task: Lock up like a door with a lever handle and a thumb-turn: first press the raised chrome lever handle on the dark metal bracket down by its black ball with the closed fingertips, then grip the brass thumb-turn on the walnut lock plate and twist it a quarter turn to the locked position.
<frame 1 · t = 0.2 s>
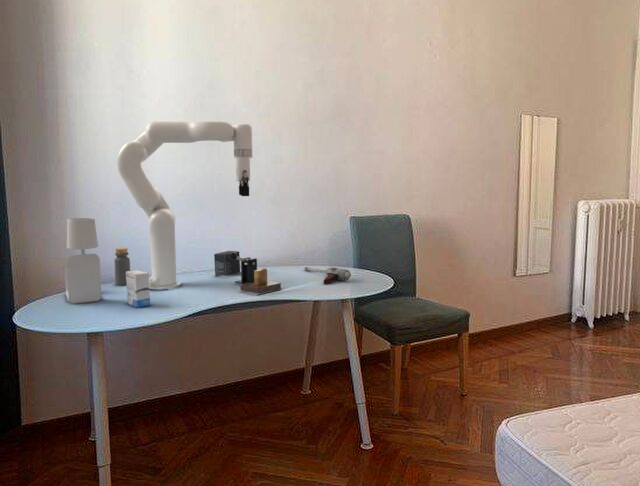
hand: (244, 195, 220), 37 cm above the table, tool pointing down, fingers open, 9 cm apart
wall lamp: (84, 298, 195), on the table
door lever: (241, 259, 217), point 11 cm above the table, hinge at 25.0°
ink box: (138, 305, 186), on the table
lock plate: (260, 291, 208), on the table
handle bracket: (249, 283, 221), on the table
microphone: (318, 277, 236), on the table
bottle: (123, 284, 220), on the table
thumbturn: (260, 276, 207), point 6 cm above the table, hinge at 0.0°
box: (227, 275, 240), on the table
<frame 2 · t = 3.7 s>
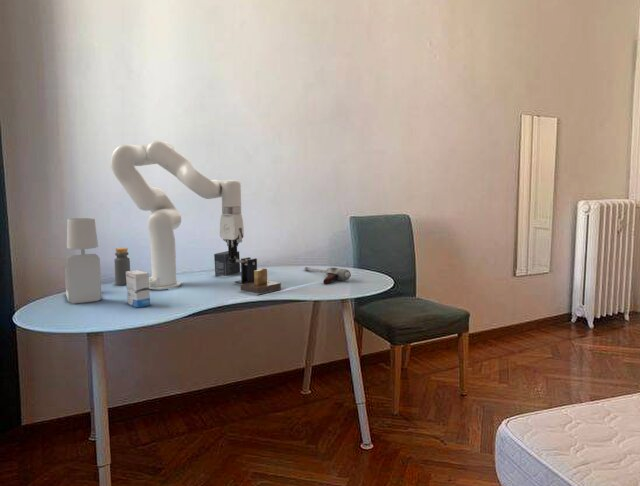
hand: (232, 256, 213), 13 cm above the table, tool pointing down, fingers closed
door lever: (240, 261, 217), point 10 cm above the table, hinge at 14.4°
everything else where it was.
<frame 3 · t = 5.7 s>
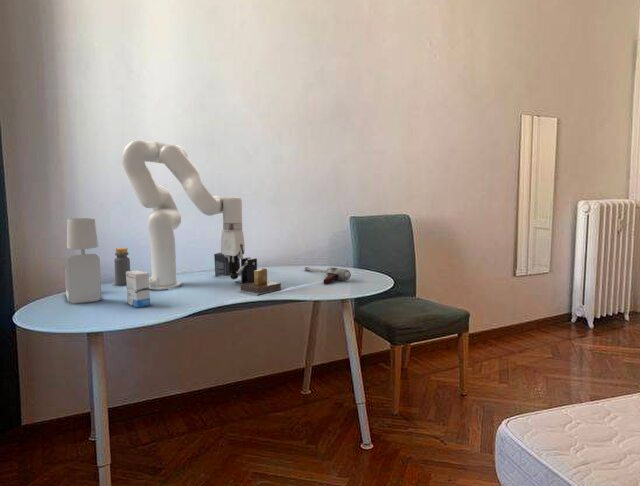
hand: (233, 271, 214), 6 cm above the table, tool pointing down, fingers closed
door lever: (241, 269, 218), point 7 cm above the table, hinge at -28.2°, touching gripper
everything else where it was.
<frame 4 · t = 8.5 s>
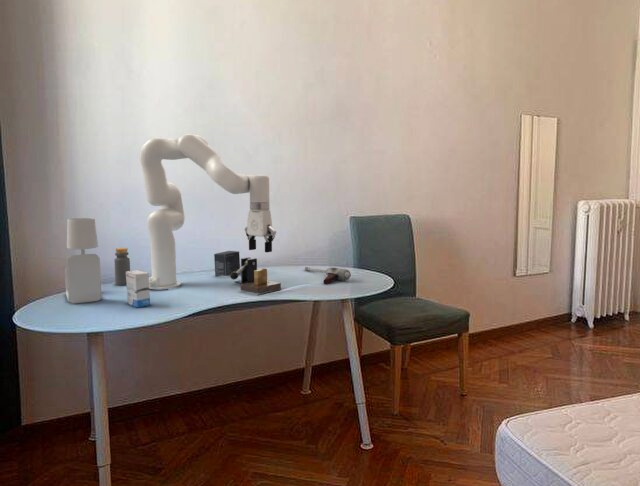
hand: (260, 250, 206), 16 cm above the table, tool pointing down, fingers open, 8 cm apart
door lever: (241, 269, 218), point 7 cm above the table, hinge at -28.2°
everything else where it was.
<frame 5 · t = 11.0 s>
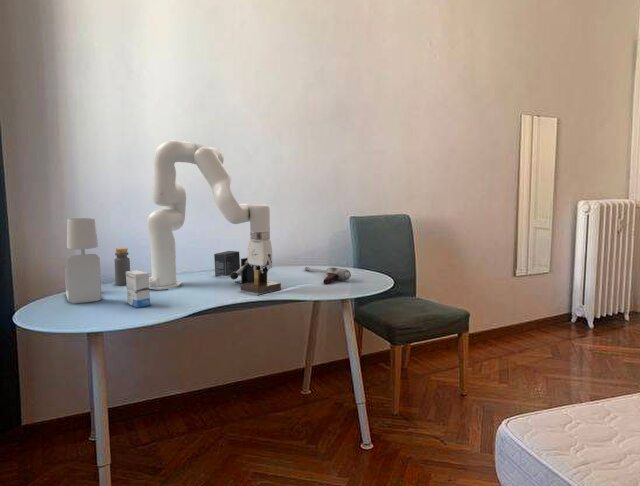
hand: (260, 282, 208), 4 cm above the table, tool pointing down, fingers closed on thumbturn, 2 cm apart
thumbturn: (260, 276, 207), point 6 cm above the table, hinge at 0.0°, touching gripper
everything else where it was.
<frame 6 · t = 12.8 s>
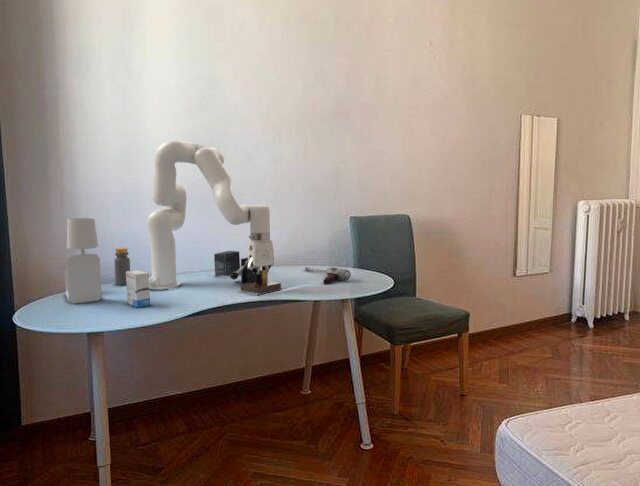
hand: (261, 282, 208), 3 cm above the table, tool pointing down, fingers closed
thumbturn: (260, 276, 207), point 6 cm above the table, hinge at 89.8°
everything else where it was.
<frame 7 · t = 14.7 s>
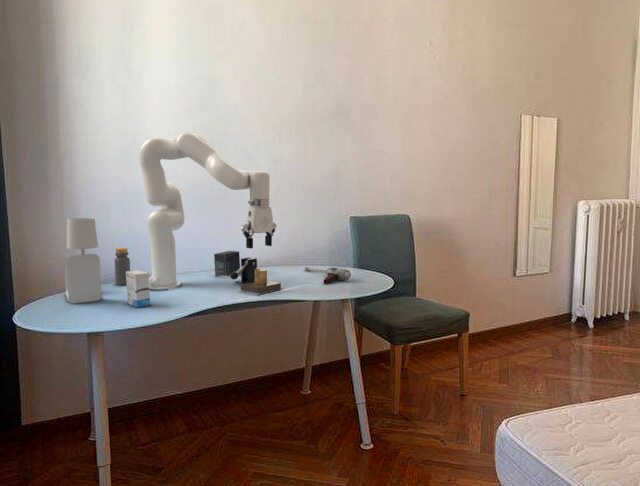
hand: (259, 246, 206), 18 cm above the table, tool pointing down, fingers open, 9 cm apart
nothing on the table moved.
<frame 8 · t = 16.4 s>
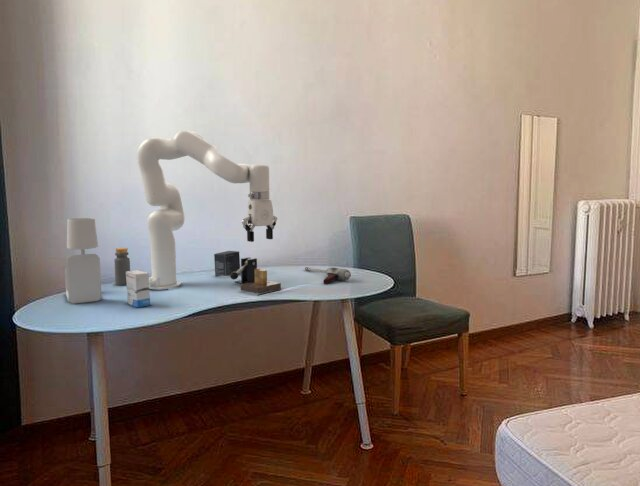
hand: (260, 240, 206), 20 cm above the table, tool pointing down, fingers open, 9 cm apart
nothing on the table moved.
at the end: door lever at -28° (first picture: +25°); thumbturn at +90° (first picture: +0°) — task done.
